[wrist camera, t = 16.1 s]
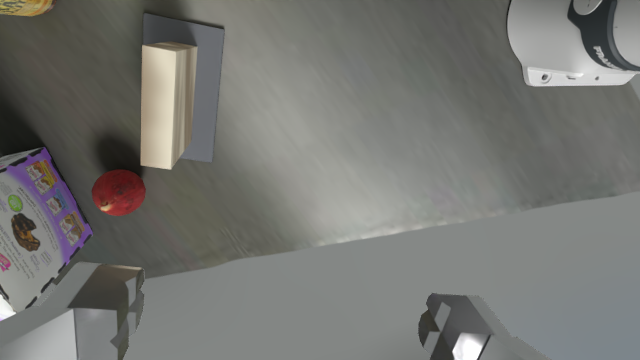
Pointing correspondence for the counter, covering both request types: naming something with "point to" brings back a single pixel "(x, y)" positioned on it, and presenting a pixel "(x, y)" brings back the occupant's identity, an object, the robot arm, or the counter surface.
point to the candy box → (34, 228)
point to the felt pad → (206, 75)
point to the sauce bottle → (26, 7)
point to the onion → (118, 192)
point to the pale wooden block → (166, 102)
